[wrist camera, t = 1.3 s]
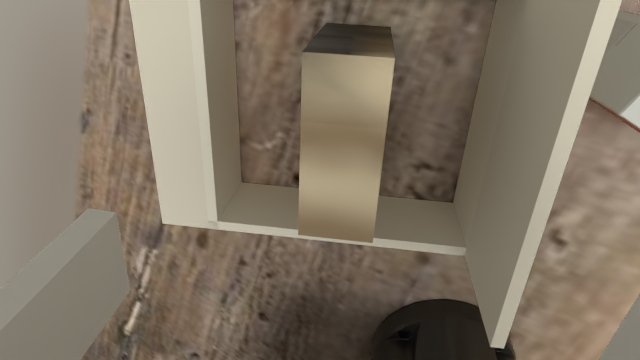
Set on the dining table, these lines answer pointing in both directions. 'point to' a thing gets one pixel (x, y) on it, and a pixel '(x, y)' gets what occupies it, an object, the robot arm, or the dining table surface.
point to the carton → (392, 212)
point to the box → (343, 129)
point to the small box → (621, 71)
